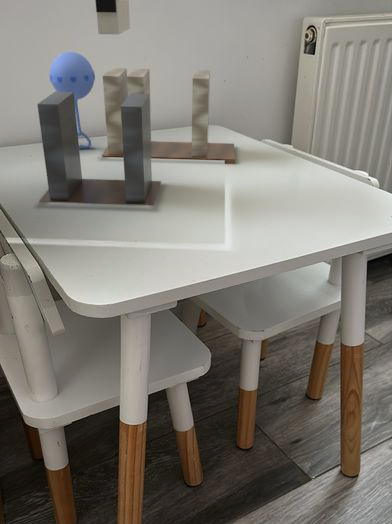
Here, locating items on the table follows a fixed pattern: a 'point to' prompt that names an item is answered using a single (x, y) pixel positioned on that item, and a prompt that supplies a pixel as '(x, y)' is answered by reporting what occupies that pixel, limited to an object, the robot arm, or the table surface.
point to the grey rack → (68, 157)
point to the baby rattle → (73, 80)
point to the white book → (114, 19)
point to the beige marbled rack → (139, 83)
